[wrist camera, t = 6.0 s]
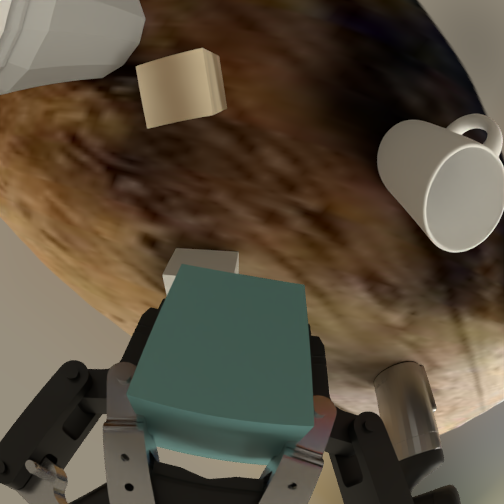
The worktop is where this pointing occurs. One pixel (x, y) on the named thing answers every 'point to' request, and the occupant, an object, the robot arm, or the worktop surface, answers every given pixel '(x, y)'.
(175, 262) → the pedestal block
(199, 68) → the beech block
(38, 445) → the robot arm
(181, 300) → the teal cube
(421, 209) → the mug
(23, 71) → the jar
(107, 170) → the worktop surface
